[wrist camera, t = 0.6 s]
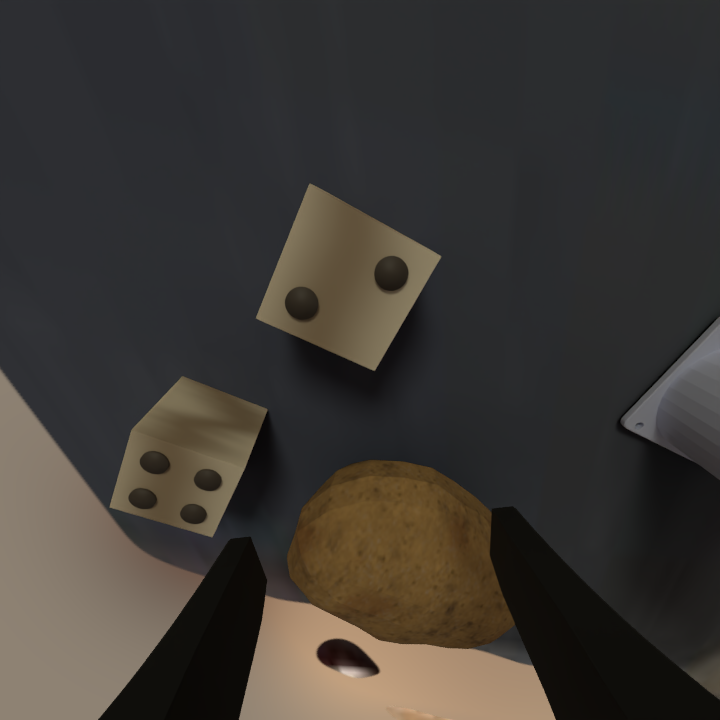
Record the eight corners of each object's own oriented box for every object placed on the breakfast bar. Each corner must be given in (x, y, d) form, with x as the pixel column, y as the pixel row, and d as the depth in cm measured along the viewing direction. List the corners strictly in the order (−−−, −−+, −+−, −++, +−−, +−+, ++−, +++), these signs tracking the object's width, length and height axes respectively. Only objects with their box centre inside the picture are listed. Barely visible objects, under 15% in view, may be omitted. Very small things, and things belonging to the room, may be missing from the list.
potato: (438, 567, 27) (473, 704, 19) (275, 501, 23) (242, 637, 16) (525, 486, 23) (606, 614, 16) (350, 395, 20) (351, 505, 13)
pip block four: (268, 408, 20) (244, 470, 15) (240, 468, 22) (211, 539, 17) (183, 375, 19) (129, 431, 14) (161, 440, 21) (107, 509, 16)
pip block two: (415, 241, 17) (442, 257, 12) (367, 329, 18) (375, 372, 14) (320, 189, 15) (309, 183, 11) (280, 287, 17) (254, 319, 13)
